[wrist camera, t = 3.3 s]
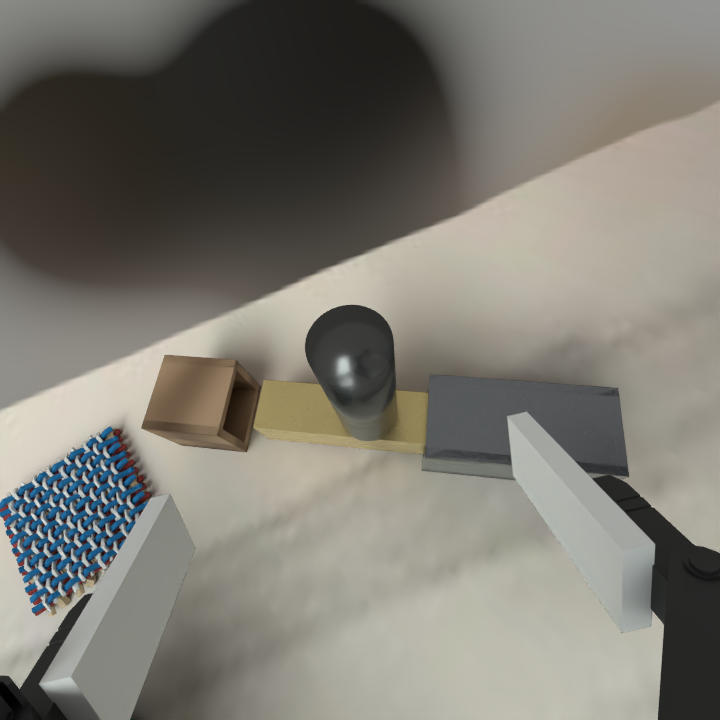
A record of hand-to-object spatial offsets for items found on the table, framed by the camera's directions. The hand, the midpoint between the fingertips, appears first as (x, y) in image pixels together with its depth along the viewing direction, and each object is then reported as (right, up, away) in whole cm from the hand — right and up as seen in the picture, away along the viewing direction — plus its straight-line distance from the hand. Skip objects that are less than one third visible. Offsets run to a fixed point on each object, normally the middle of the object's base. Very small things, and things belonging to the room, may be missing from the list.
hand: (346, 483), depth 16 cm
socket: (-11, 0, +19) cm, 22 cm away
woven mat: (-21, -8, +18) cm, 29 cm away
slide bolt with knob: (+5, -1, +16) cm, 17 cm away
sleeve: (+11, -2, +16) cm, 20 cm away
